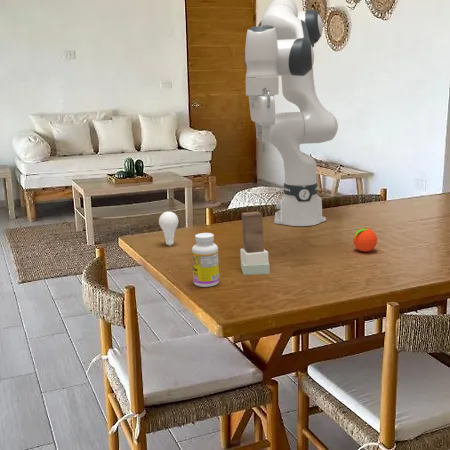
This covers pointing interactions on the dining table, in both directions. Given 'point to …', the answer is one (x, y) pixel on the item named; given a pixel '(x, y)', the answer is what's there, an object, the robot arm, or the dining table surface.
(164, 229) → the lightbulb
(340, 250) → the dining table surface
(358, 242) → the clementine
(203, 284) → the supplement bottle
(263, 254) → the tower cap
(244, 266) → the tower base
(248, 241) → the walnut post
